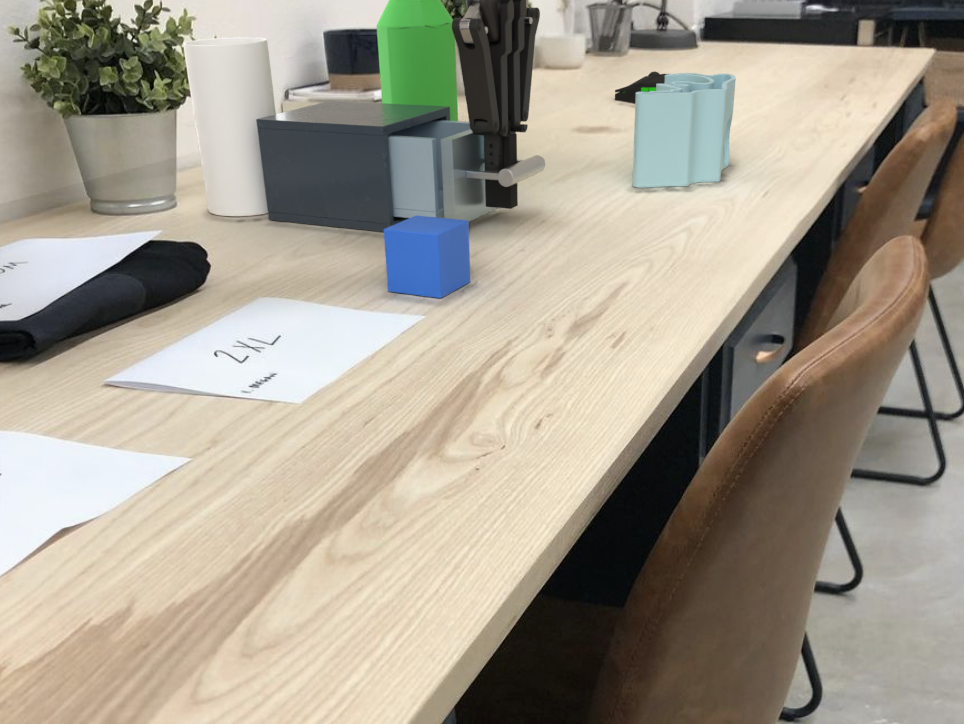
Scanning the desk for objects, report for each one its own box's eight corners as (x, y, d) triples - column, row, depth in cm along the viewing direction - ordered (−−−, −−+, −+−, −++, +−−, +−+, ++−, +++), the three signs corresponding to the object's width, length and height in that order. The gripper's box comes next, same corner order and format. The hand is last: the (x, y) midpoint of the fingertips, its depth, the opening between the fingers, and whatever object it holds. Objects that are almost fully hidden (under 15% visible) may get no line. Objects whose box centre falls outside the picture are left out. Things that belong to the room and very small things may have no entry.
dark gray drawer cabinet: (454, 205, 116) (450, 106, 111) (390, 232, 107) (382, 126, 102) (338, 194, 122) (329, 100, 118) (268, 220, 113) (255, 119, 108)
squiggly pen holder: (722, 189, 119) (729, 94, 114) (630, 187, 121) (633, 94, 116) (730, 157, 134) (737, 72, 129) (648, 156, 136) (652, 73, 131)
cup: (239, 196, 123) (217, 36, 115) (301, 202, 120) (283, 37, 112) (192, 213, 117) (165, 44, 108) (256, 219, 113) (233, 46, 105)
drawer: (555, 206, 111) (555, 122, 107) (503, 232, 102) (501, 143, 98) (396, 192, 118) (391, 114, 114) (336, 216, 110) (328, 132, 106)
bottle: (473, 164, 135) (466, -75, 122) (432, 177, 129) (419, -73, 116) (415, 158, 139) (401, -73, 126) (372, 171, 133) (353, -71, 120)
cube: (387, 291, 90) (383, 229, 88) (419, 275, 94) (415, 215, 91) (441, 298, 88) (437, 234, 86) (471, 282, 92) (468, 220, 89)
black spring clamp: (680, 110, 166) (682, 81, 164) (600, 100, 177) (601, 73, 175) (728, 101, 172) (730, 73, 170) (648, 92, 183) (649, 65, 181)
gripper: (500, -78, 89) (506, 224, 101) (566, -81, 98) (564, 195, 110) (419, -75, 92) (434, 218, 104) (491, -79, 101) (497, 189, 114)
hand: (501, 205), depth 107 cm, fingers closed
